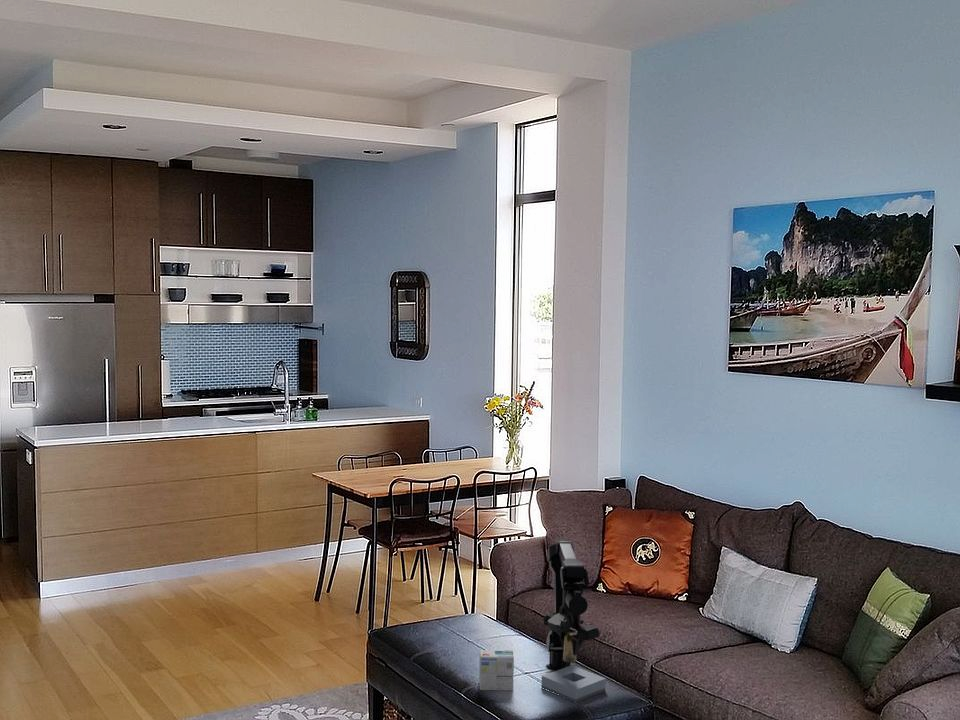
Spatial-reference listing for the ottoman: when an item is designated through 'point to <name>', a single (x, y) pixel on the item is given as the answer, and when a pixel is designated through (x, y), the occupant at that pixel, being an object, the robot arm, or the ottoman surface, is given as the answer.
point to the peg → (568, 648)
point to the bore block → (573, 683)
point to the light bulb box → (496, 670)
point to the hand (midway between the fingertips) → (570, 653)
